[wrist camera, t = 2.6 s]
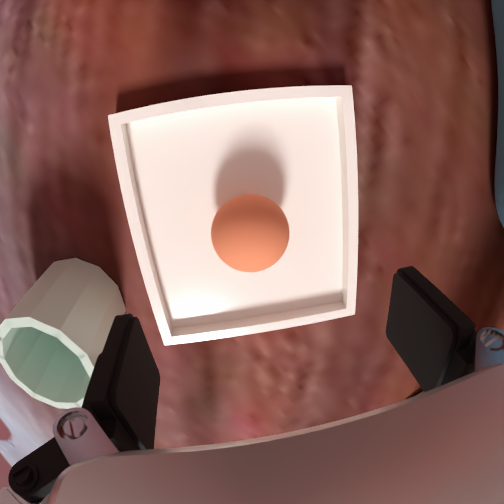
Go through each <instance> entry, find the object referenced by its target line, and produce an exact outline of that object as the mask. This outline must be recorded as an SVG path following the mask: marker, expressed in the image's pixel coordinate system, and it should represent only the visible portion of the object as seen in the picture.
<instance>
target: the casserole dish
mask: <svg viewBox="0 0 504 504" xmlns="http://www.w3.org/2000/svg"><path fill="white" fill-rule="evenodd" d="M491 3H492V15H493V25H494V33H495V43H496V54H497V69H498V126H497V146H496V162H495V183H494V185H495V203H496V209H497V213H498V216H499V219H500V221H501V224H502V226H503V227H504V0H491Z"/></svg>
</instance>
